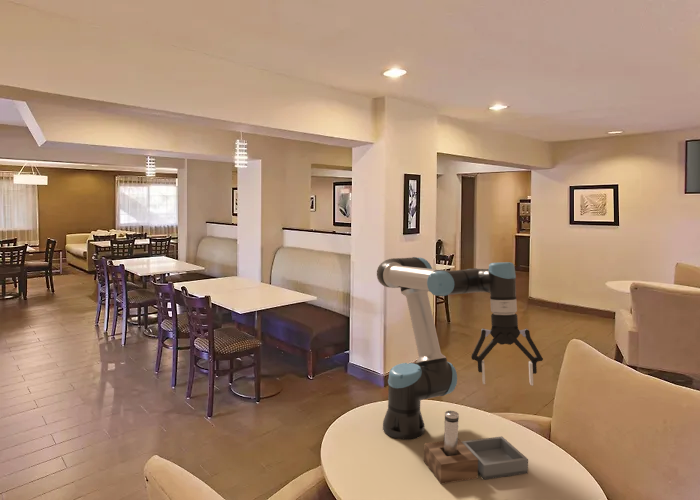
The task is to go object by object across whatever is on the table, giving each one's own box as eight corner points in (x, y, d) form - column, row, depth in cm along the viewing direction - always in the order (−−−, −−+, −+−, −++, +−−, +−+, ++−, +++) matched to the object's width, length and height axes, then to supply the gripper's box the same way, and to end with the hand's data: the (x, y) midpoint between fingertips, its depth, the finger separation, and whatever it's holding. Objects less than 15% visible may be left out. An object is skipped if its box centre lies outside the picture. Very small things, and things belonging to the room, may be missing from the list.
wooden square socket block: (423, 461, 141) (424, 443, 140) (458, 456, 144) (458, 439, 143) (440, 483, 129) (441, 464, 129) (477, 478, 132) (478, 459, 132)
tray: (460, 454, 145) (461, 441, 145) (501, 449, 149) (502, 436, 148) (483, 479, 132) (484, 465, 131) (527, 473, 135) (528, 459, 135)
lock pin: (440, 466, 138) (442, 411, 136) (452, 465, 139) (454, 410, 137) (446, 474, 134) (448, 417, 132) (459, 472, 135) (461, 416, 133)
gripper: (461, 315, 133) (464, 385, 133) (550, 314, 127) (554, 388, 126) (461, 312, 140) (464, 378, 140) (546, 311, 134) (549, 381, 134)
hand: (507, 383), depth 133 cm, fingers open, 13 cm apart
